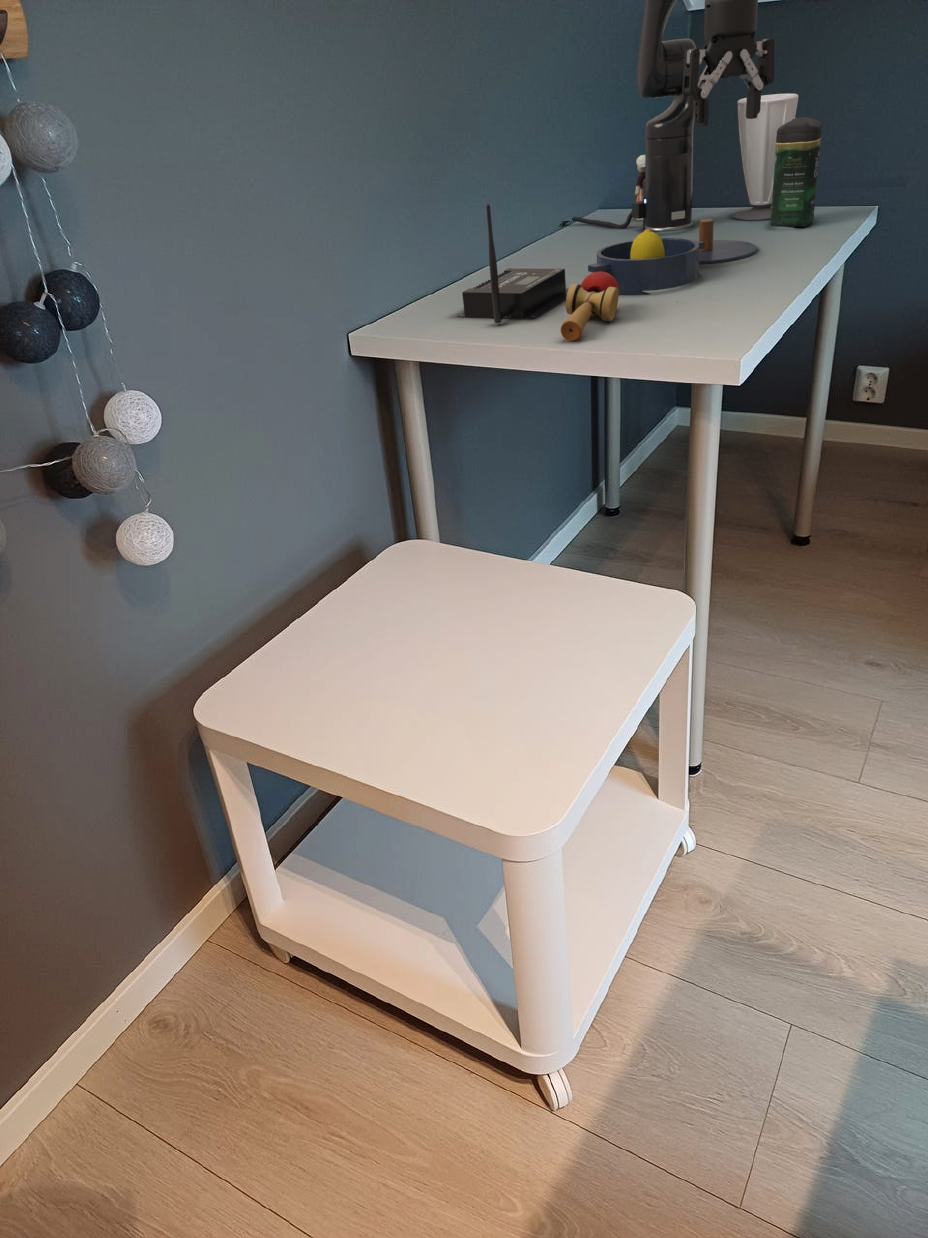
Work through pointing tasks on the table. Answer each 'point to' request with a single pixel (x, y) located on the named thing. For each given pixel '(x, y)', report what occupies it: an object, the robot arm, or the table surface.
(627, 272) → the pan
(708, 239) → the pan lid
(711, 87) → the robot arm
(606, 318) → the kendama
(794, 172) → the coffee jar
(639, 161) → the grandmother figurine
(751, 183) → the cup
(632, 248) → the lemon
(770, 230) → the table surface
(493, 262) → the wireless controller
